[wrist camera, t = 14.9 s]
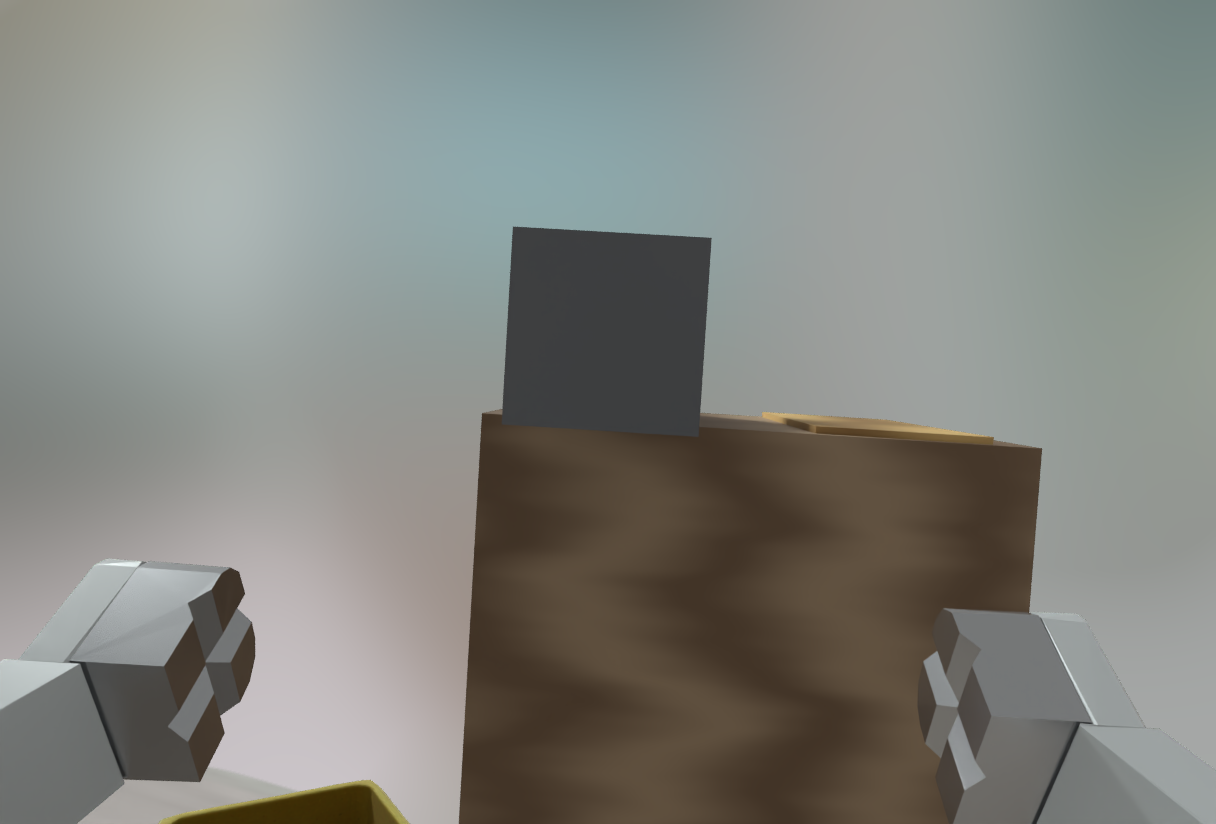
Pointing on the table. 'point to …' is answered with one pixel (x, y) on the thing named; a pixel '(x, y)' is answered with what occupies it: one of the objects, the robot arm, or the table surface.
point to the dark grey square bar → (606, 331)
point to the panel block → (726, 615)
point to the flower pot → (305, 808)
